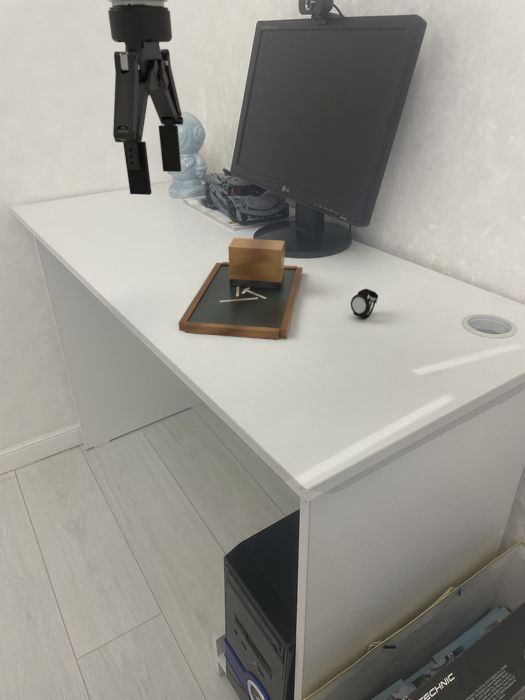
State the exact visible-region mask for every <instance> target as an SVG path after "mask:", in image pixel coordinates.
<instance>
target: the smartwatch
mask: <svg viewBox="0 0 525 700" xmlns="http://www.w3.org/2000/svg"><path fill="white" fill-rule="evenodd" d="M378 298H379V294H378V293H377V292H376V291H374V290H371V289H368V288H363V289H361V290H359V291H358V292H357V294H355V295H354V296H353V297H352V298H351V300H350V309H351V311H352V314H353V315H354V316H356V317H358V318H360V319H368V318H369V317H370V316H371V314H372V313H373V311H374V308H375V306H376V304H377V303H378V300H379V299H378Z"/></svg>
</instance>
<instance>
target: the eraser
mask: <svg viewBox="0 0 525 700" xmlns="http://www.w3.org/2000/svg"><path fill="white" fill-rule="evenodd" d="M227 251H228V262H229V282H230V286H235V287H249V288H263V289H277V290H281V287H282V284H283V281H284V265H285V261H286V260H285V256H286V241H285V240H278V239H260V238H244V237H243V238H241V237H233V239H232V240H231V242H230V244H229V245H228V250H227Z"/></svg>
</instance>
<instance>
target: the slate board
mask: <svg viewBox="0 0 525 700" xmlns="http://www.w3.org/2000/svg"><path fill="white" fill-rule="evenodd" d="M303 270H304V268H303V267H300V266H298V265H286V264H284V281H283V284H282V287H281V290H277V289H263V288H249V287H235V286H230V282H229V261H222V262H216V263H215V264H214V265H213V267H212V269H211V271H209V273H208V275H207V276H206V278H205V280H204V281H203V283H202V285H201V287H200V288H199V290H197V293H196V294H195V296H194V297H193V299H192V300H191V302H190V304H189V305H188V307H187V309H185V311H184V314H183V315H182V316H181V318H180V319H179V321H178V330H179V331H184V333H186V334H187V333H188V334H189V333H190V334H201V335H202V334H204V335H217V336H229V337H242V338H253V339H265V340H266V339H268V340H280V339H288V335H289V331H290V327H291V323H292V318H293V315H294V310H295V306H296V302H297V298H298V294H299V290H300V286H301V282H302V278H303V273H304V271H303Z"/></svg>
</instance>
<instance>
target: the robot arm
mask: <svg viewBox="0 0 525 700" xmlns="http://www.w3.org/2000/svg"><path fill="white" fill-rule="evenodd" d="M107 1H108V2H109V3H111V6H110V7H109V9H108V10H107V13H108V20H109V21H108V22H109V28H110V29H109V30H110V36H111V39H112V41H114V42H115V43H124V49H125V50H124V51H114V52H113V59H114V61H113V62H114V70H115V74H114V75H115V77H114V78H115V79H114V80H115V81H114V83H115V84H114V101H113V102H114V104H113V105H114V107H113V126H112V127H113V128H112V129H113V130H112V135H113V139H114V142H115V143H122V144H123V151H124V159H125V165H126V172H127V173H126V174H127V180H128V187H129V195H145V196H150V195H151V194H152V185H151V176H150V175H151V174H150V168H149V160H148V159H149V158H148V150H147V142H146V141H143V135H144V128H145V121H146V115H147V107H148V101H149V97H150V99H151V102H152V104H153V107H154V109H155V112H156V114H157V117H158V119H159V122H160V124H161V125H158V134H159V146H160V154H161V163H162V164H161V165H162V172H168V173H169V172H170V173H171V172H173V173H180V172H182V163H181V152H180V151H181V150H180V149H181V148H180V138H179V127H178V126H183V125H184V117H183V116H182V115H183V114H182V110H181V105H180V104H181V103H180V100H179V96H178V92H177V87H176V83H175V78H174V73H173V69H172V64H171V56H170V55H171V54H170V50H169V49H168V48H161V45H160V43H169V42H171V41H172V39H173V32H172V21H171V11H170V10H169V7H166V6H165V3H167V2H168V0H107Z"/></svg>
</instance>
